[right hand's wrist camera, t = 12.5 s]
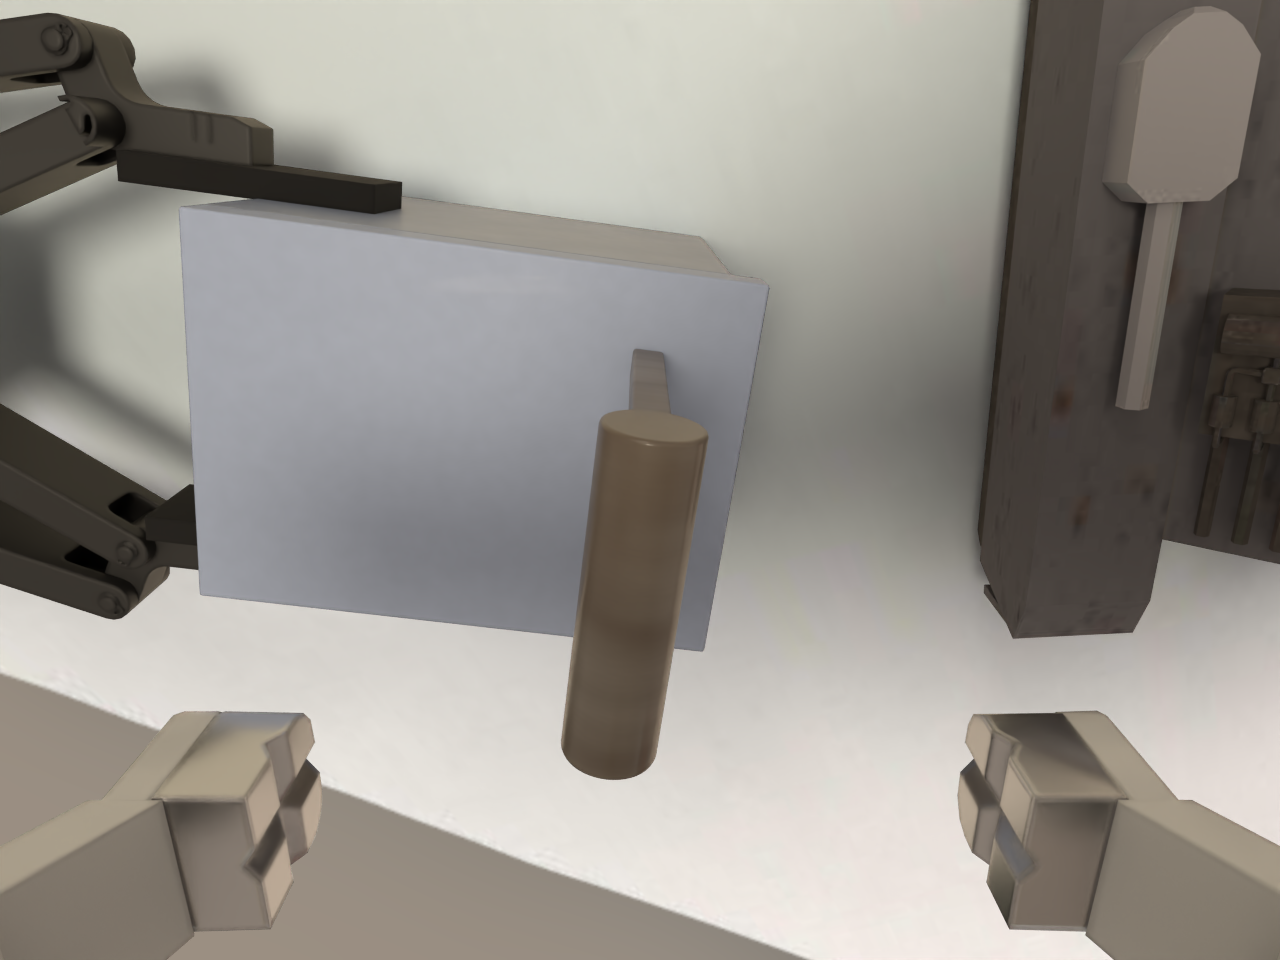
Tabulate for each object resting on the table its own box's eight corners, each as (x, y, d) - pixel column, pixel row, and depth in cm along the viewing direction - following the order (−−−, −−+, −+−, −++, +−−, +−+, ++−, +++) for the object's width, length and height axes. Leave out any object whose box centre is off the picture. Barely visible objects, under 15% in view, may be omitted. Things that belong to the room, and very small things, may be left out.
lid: (763, 278, 20) (843, 354, 12) (700, 631, 23) (732, 868, 15) (202, 203, 19) (-92, 233, 12) (218, 575, 23) (-1, 794, 15)
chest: (702, 236, 30) (732, 274, 20) (664, 489, 33) (674, 627, 23) (348, 188, 29) (202, 203, 19) (345, 450, 32) (220, 575, 23)
